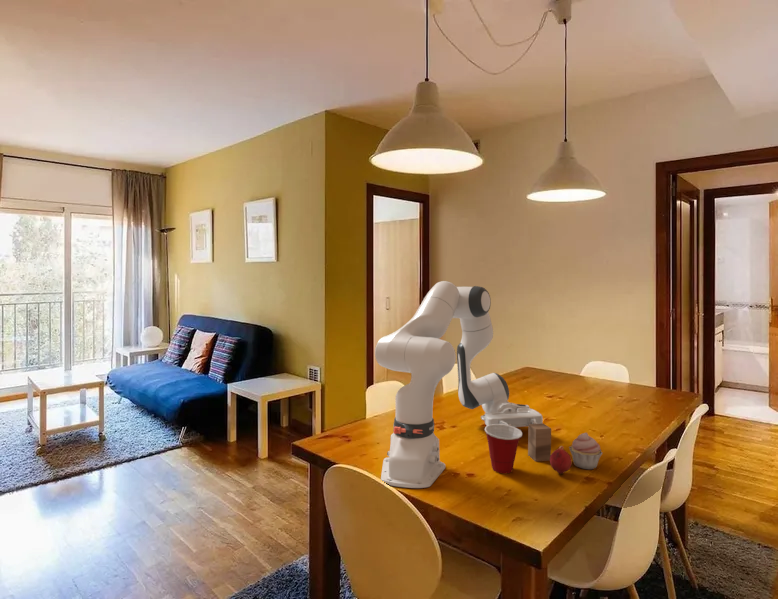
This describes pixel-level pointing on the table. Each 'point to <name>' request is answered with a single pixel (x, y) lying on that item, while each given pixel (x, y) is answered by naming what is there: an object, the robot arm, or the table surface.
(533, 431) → the walnut block
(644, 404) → the table surface
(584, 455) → the cupcake
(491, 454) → the plastic cup
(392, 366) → the robot arm
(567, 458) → the onion
